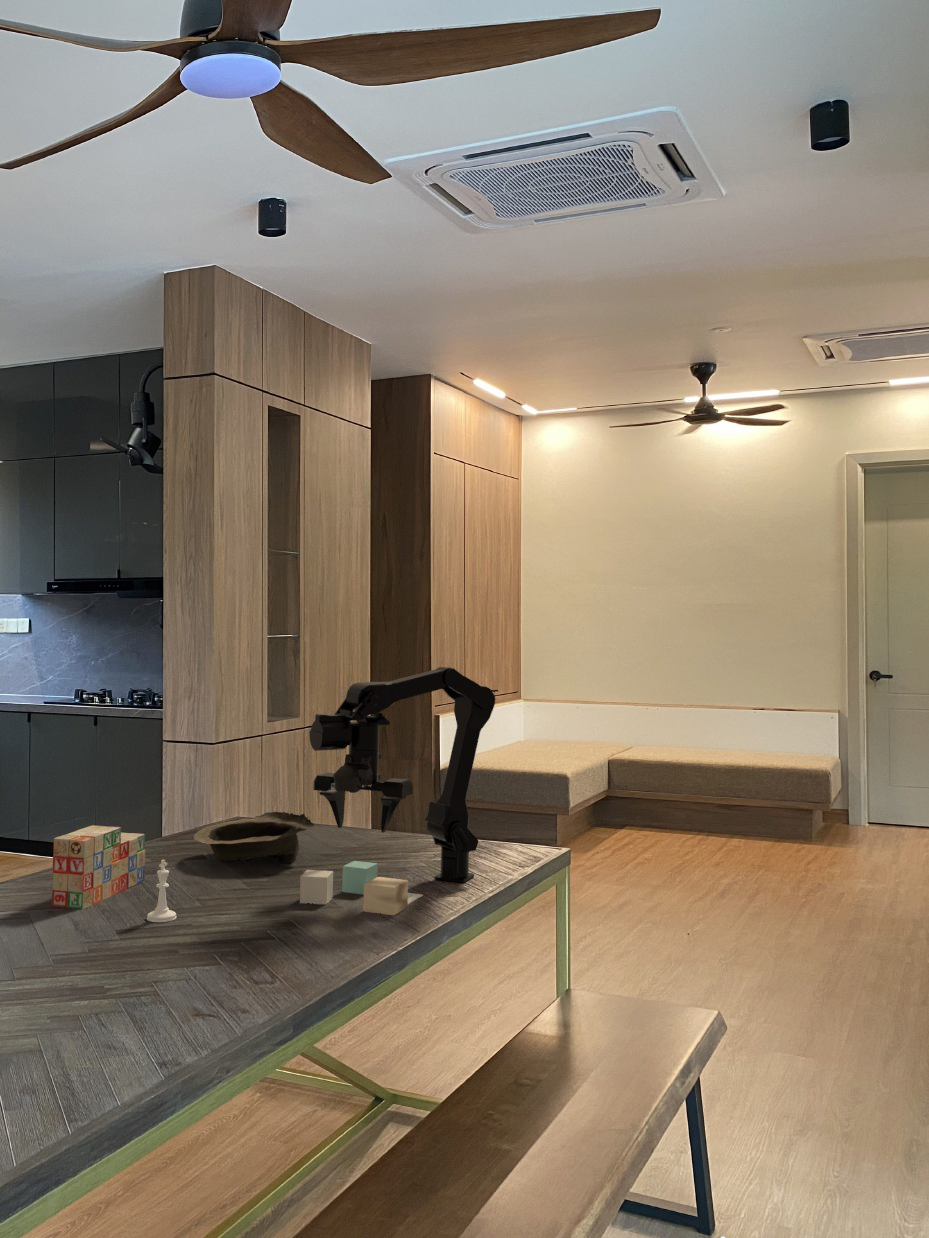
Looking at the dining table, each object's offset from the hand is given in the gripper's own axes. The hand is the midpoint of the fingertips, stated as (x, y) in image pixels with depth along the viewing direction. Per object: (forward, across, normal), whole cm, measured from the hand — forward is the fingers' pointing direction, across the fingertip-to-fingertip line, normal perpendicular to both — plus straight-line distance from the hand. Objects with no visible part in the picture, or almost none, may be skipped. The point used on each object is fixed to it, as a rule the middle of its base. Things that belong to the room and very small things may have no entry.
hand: (361, 829), depth 205 cm
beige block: (+12, -4, -10) cm, 16 cm away
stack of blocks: (+12, -42, -23) cm, 50 cm away
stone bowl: (+12, -32, +13) cm, 37 cm away
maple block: (+12, +10, -10) cm, 18 cm away
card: (+12, +9, -2) cm, 15 cm away
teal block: (+12, 0, 0) cm, 12 cm away
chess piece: (+12, -22, -32) cm, 41 cm away
